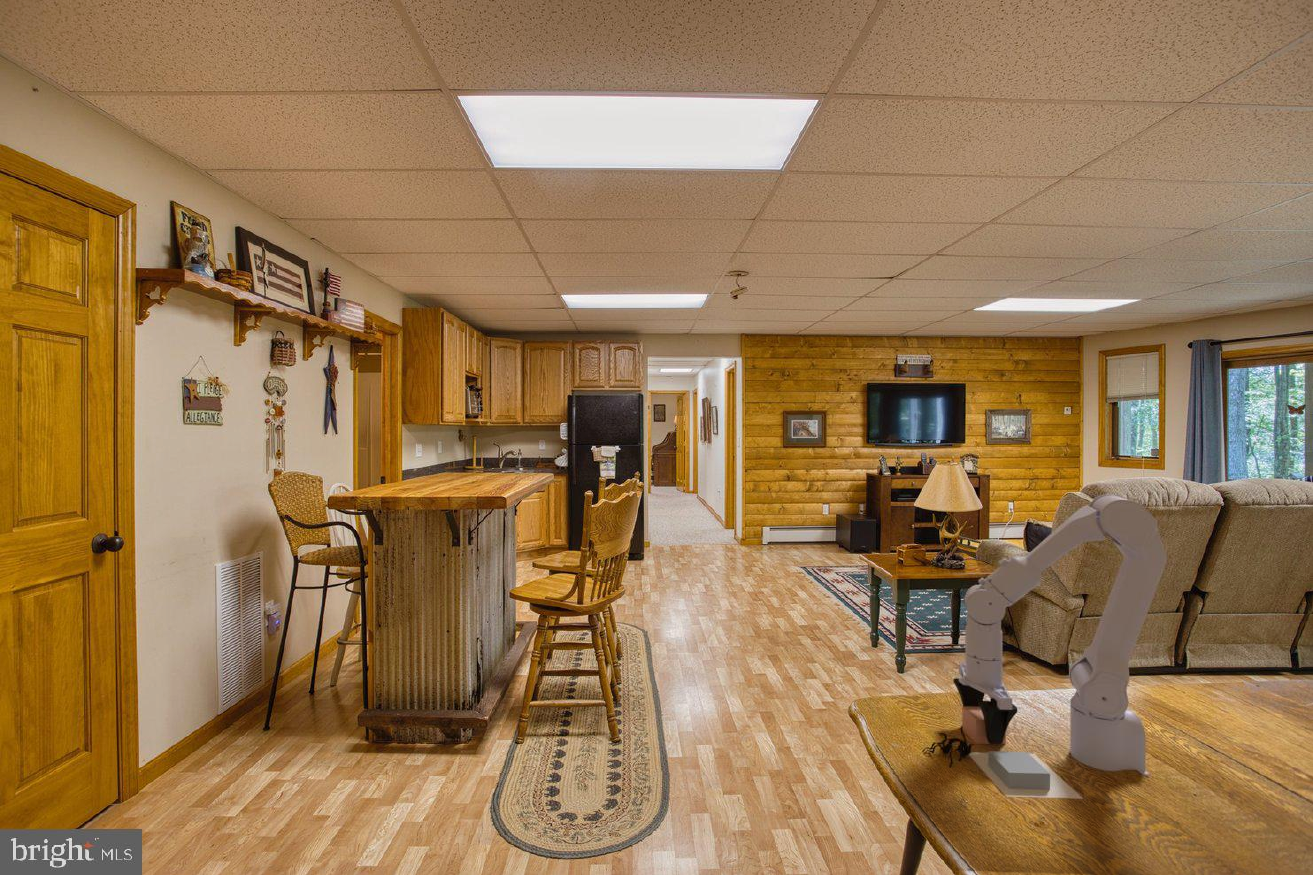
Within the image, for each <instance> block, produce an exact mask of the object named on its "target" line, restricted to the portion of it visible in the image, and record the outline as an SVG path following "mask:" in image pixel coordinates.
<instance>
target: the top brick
mask: <svg viewBox="0 0 1313 875" xmlns="http://www.w3.org/2000/svg"><path fill="white" fill-rule="evenodd" d="M961 710H962V714H961V716H962V717H961V720H962V721H961V723H962V725H961V726H963V727H962V729H963V732H965V734H966V735H968V737H969V738H970V739H971V740H972V741H973V742H974V744H976V745H977V744H979V745H981V744H985V745H991V744H990V743H989V742H988V740H987V736H986V728H985V721H984V716H983V713H982V710H981V708H980V707H972V706H963V705H962V708H961ZM1006 740H1007V732H1006V733H1005V736H1004V739H1003V742H1002V744H1001V745H1006V744H1007V742H1006Z"/></svg>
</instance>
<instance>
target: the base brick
mask: <svg viewBox="0 0 1313 875" xmlns="http://www.w3.org/2000/svg"><path fill="white" fill-rule="evenodd" d="M987 753H988V766H989V767H990V768H991V769H992V770H993V772H994V773H995V774H996V775H997V776H998V777H999V778H1000V779H1001V780H1002V781H1003V782H1004V784H1005V785H1006V786H1007V787H1008V788H1009V789H1047V790H1050V773H1049V772H1048V771H1047V770H1046V769H1045V768H1043V767H1042V766H1041V765H1040V764H1039V763H1038V762H1037V761H1036V760H1035V759H1034V758H1033V757H1032V756H1031V755H1029V754H1030V753H1028V751H997V750H996V751H994V750H989V751H988V752H987Z"/></svg>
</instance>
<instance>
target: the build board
mask: <svg viewBox="0 0 1313 875" xmlns="http://www.w3.org/2000/svg"><path fill="white" fill-rule="evenodd" d="M1028 754H1029V755H1031V756H1032V757H1033V758H1034V759H1035V760H1036V761H1037V762H1038V763H1039V764H1040V765H1041V766H1042V767H1043V768H1045V769H1046V770H1047V771H1048V772H1049V773H1050V790H1047V789H1009V788H1008V787H1007V786H1006V785H1005V784H1004V782H1003V781H1002V780H1001V779H1000V778H999V777H998V776H997V775H996V774H995V773H994V772H993V770H992V769H991V768H990V767H989V766H988V752H972V751H971V753H970V754H969V755H968V756H969V757H970V758H971V759H972V760H973V761H974V763H976V765H977V767H979V768H980V769H981V770H982V771H983V773H984V774H985V775H986V776H987V777H988V778H989V779H990V781H991V782H992V783H993V784H994V785H995V786H996V787H997V788H998V789H999V790H1000V792H1001V793H1002V795H1004V796H1005V797H1006V798H1034V799H1035V798H1036V799H1040V798H1041V799H1073V800H1074V799H1075V800H1077V799H1078V800H1083V799H1084V798H1083V796H1081V795H1080V794H1079V792H1077V791H1076V790H1075V789H1074V788H1073V787H1071V786H1070V784H1068V783H1067V782H1066V781H1065V780H1064V779H1062V778H1061V777H1060V776H1059V775H1058V773H1056V772H1055V771H1054V770H1053V769H1052V768H1051V767H1050V766H1048V765H1047V764H1046V763H1045V762H1044V761H1043V760H1042V759H1041V758H1040V757H1039V756H1038V755H1036V754H1035V753H1028Z"/></svg>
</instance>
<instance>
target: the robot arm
mask: <svg viewBox="0 0 1313 875" xmlns="http://www.w3.org/2000/svg"><path fill="white" fill-rule="evenodd" d="M1104 534H1105V535H1107V536H1108V537H1109V538H1110V540H1111V541H1112V543H1113V544H1114V545H1115V547H1116V548H1117V549H1118V551H1119V553H1121V555H1122V556H1123V559H1122V561H1121V563H1120V567H1119V570H1118V572H1117V575H1116V577H1115V581H1114V583H1113V585H1112V587H1111V588H1112V589H1111V591H1110V593H1109V597H1108V599H1107V601H1106V603H1105V606H1104V610H1103V613H1102V615H1101V617H1100V621H1099V623H1098V627H1097V628H1096V632H1095V634H1094V636H1093V640H1092V642H1091V643H1090V645H1089V646H1087V647H1086V648H1085V649H1084V651H1083V653H1082V656H1081V657H1080V658H1079V659H1078V660H1077V661H1075V662H1074V663H1073V664H1072V665H1071V667H1070V668H1069V673H1068V678H1069V681H1070V683H1071V685H1072V686H1073V688H1074V689H1075V690H1076V691H1075V692H1074V694H1073V696H1072V697H1071V698H1070V702H1069V703H1070V706H1069V708H1070V709H1069V710H1070V714H1069V715H1070V717H1069V718H1070V719H1069V721H1070V725H1069V726H1070V727H1069V728H1070V730H1069V731H1070V733H1069V734H1070V735H1069V736H1070V737H1069V740H1070V742H1069V744H1070V746H1069V747H1070V748H1069V749H1070V750H1069V751H1070V755H1071V757H1073V758H1074V759H1075V761H1078V762H1080V763H1081V764H1083V765H1086V766H1088V767H1091V768H1093V769H1098V770H1101V771H1106V772H1107V771H1108V772H1118V771H1125V770H1126V771H1127V770H1131V771H1133V770H1136V771H1138V772H1139V773H1140V774H1142V775H1143V776H1145V777H1146V778H1148V777H1150V773H1149V772H1148V771H1146V750H1147V749H1146V746H1147V745H1146V738H1147V737H1146V731H1145V728H1144V725H1143V723H1142V721H1141V718H1139V716H1138V715H1137V714H1136V713H1135V712H1134V711H1132V710H1130V709H1128V707H1129V697H1128V693H1127V692H1128V690H1127V689H1128V686H1129V682H1130V671H1129V670H1130V669H1129V668H1130V666H1129V662H1130V659H1131V656H1132V654H1133V652H1134V649H1135V646H1136V644H1137V641H1138V639H1139V636H1140V633H1141V630H1142V628H1143V625H1144V622H1145V620H1146V617H1147V615H1148V612H1149V609H1150V607H1151V604H1152V602H1153V599H1154V596H1155V594H1156V592H1157V588H1158V586H1159V583H1160V581H1161V578H1162V575H1163V573H1164V570H1165V567H1166V566H1167V565H1166V564H1167V562H1168V555H1167V552H1166V550H1165V546H1164V544H1163V541H1162V539H1161V535H1160V532H1159V529H1158V521H1157V519H1156V518H1155V517H1154V516H1153V515H1152V513H1150V511H1148V509H1146V508H1145V507H1144V505H1142V504H1141V503H1139V502H1138V501H1135V500H1132V499H1126V497H1123V496H1120V495H1117V494H1115V493H1113V494H1112V493H1106V494H1105V493H1104V494H1101V495H1099V496H1096V497H1095V498H1094V499H1093V500H1091V502H1090V503H1089V505H1087V504H1085V505H1084V506H1082V507H1080V508H1079V509H1078V510H1077V511H1075V512H1074V513H1073V514H1071V516H1069V517H1068V518H1067V519H1066V520H1064V522H1063V523H1061V524H1060V525H1059V526H1058V527H1056V529H1054V530H1053V531H1052V532H1051V533H1050V534H1049V535H1048V536H1047V537H1046V538H1044V539H1043V540H1042V541H1041V542H1040V543H1039V544H1038V545H1037V546H1035V547H1034V548H1032V550H1031V551H1030V552H1029V553H1028V554H1026V555H1024V556H1018V555H1017V556H1016V555H1015V556H1014V555H1012V556H1011V557H1009V559H1007V558H1006V557H1003V558H1002V559H1001V560H999V562H998V563H999V565H1000V566H999V567H997V569H995V570H994V571H993V572H992V573H990V574H989V575H987V577H985V578H984V577H980V578H979V579H978V580H977V581H978V583H979V584H974V585H972V586H971V587H969V588H968V589H967V590H966V593H965V596H964V597H963V600H964V604H965V609H966V611H967V612H966V616H965V622H966V625H965V643H964V644H965V647H964V648H965V649H964V650H965V652H964V653H965V655H964V657H965V663H958V675H960V676H959V677H958V678H956V677H955V678H953V681H952V682H953V683H954V686H955V687H956V689H957V691H958V692H957V693H958V694H959V698H960V700H961V704H962V706H972V707H980V708H981V710H982V713H983V716H984V721H985V728H986V736H987V740H988V742H989V743H990V744H989V745H1003V744H1002V742H1003V739H1004V736H1005V733H1006V734H1007V730H1008V726H1009V725H1010V722H1011V721H1012V719H1013V718H1014V716H1015V715H1017V713H1018V707H1017V706H1016V705H1015V704H1014V703H1013V697H1011V696H1010V694H1009V693H1008V691H1007V688H1006V685H1005V683H1004V681H1003V630H1002V620H1003V619H1004V617H1005V614H1006V608H1007V607H1011V606H1013V605H1014V604H1015V603H1017V602H1018V601H1019V600H1021V599H1022V598H1023V597H1025V596H1026V595H1027V594H1028V593H1029V592H1031V591H1032V590H1034V589H1035V588H1036V587H1037V586H1038V585H1040V584H1041V583H1042V571H1044V570H1045V569H1047V568H1048V567H1050V566H1051V565H1052V564H1054V563H1055V562H1056V561H1058V560H1059V559H1061V558H1062V557H1064V556H1065V555H1066V554H1067V553H1070V552H1071V551H1072V550H1073V549H1075V548H1076V547H1077V546H1079V545H1081V544H1082V543H1087V542H1100V541H1102V542H1103V541H1107V538H1106V537H1105V535H1104ZM985 695H987V696H988V697H989V699H990V700H984V697H985Z"/></svg>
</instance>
